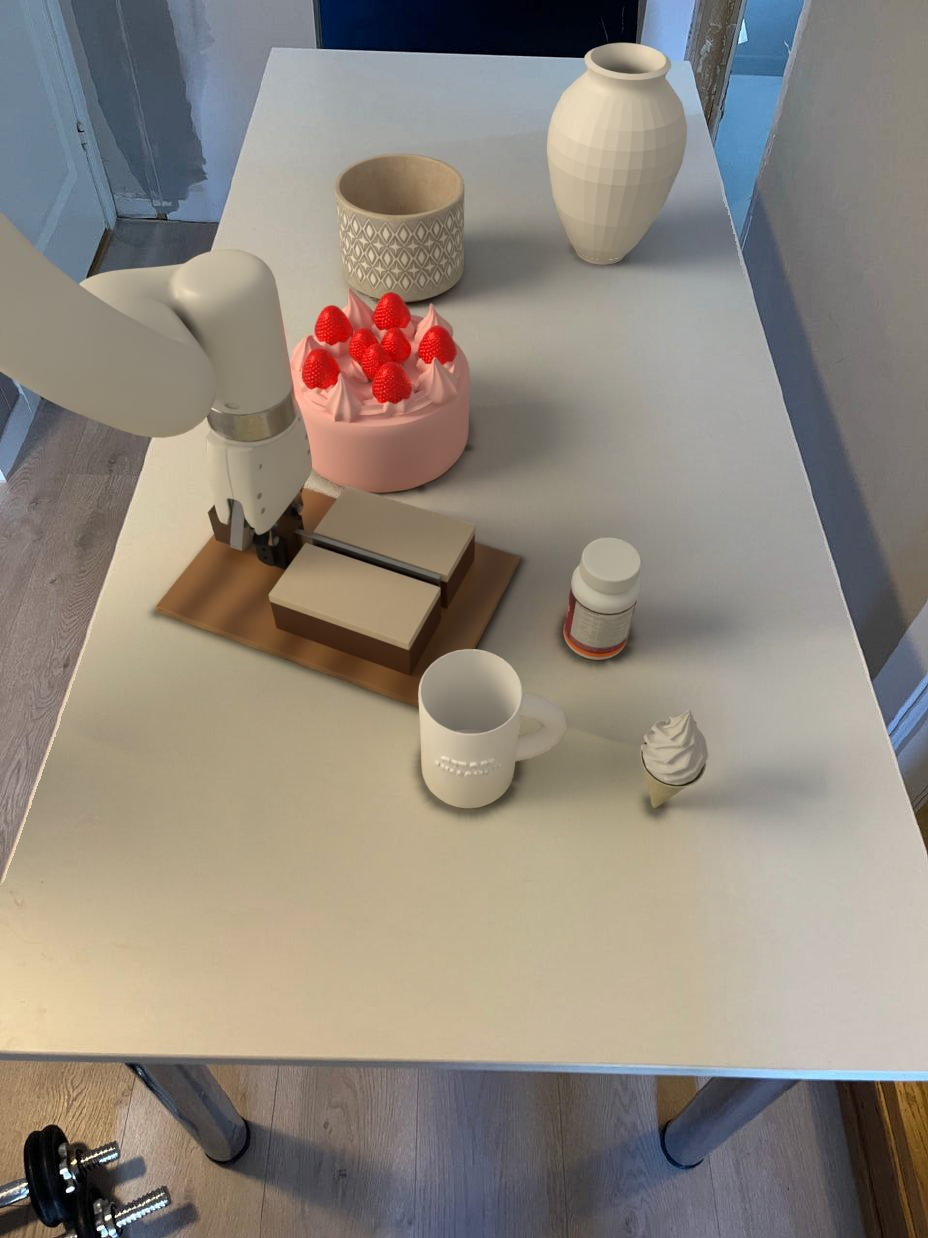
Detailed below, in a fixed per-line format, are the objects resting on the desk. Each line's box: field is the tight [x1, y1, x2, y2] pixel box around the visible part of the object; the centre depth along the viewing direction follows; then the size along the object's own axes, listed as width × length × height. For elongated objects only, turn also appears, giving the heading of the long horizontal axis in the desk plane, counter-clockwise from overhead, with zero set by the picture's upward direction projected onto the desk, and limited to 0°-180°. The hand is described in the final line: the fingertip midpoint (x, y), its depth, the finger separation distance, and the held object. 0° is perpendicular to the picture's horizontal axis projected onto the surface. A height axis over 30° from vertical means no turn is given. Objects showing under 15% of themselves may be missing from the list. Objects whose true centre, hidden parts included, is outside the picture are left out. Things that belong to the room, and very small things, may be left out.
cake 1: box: [289, 288, 471, 494], centre depth 99 cm, size 20×20×14 cm
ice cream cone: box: [639, 709, 709, 809], centre depth 70 cm, size 5×5×15 cm
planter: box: [334, 153, 465, 303], centre depth 120 cm, size 16×16×13 cm
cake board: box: [155, 487, 520, 709], centre depth 90 cm, size 30×20×1 cm, turn 67°
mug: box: [418, 648, 567, 809], centre depth 74 cm, size 8×12×12 cm
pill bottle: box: [563, 537, 642, 661], centre depth 83 cm, size 6×6×11 cm
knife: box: [207, 503, 441, 595], centre depth 87 cm, size 24×3×4 cm, turn 67°
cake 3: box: [269, 543, 441, 676], centre depth 84 cm, size 14×7×5 cm, turn 67°
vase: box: [546, 42, 688, 266], centre depth 119 cm, size 18×18×25 cm
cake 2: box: [313, 485, 477, 609], centre depth 89 cm, size 14×7×5 cm, turn 67°
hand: (282, 550), depth 90 cm, fingers closed on knife, 2 cm apart
